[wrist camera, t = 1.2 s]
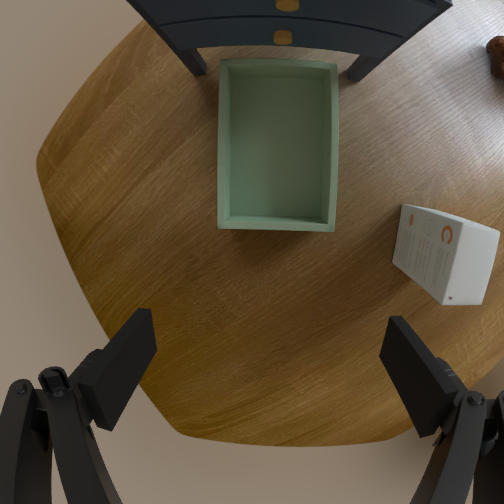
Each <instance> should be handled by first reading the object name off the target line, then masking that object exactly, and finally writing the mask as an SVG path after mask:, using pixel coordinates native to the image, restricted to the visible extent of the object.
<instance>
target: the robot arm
mask: <svg viewBox="0 0 504 504" xmlns="http://www.w3.org/2000/svg"><path fill="white" fill-rule="evenodd" d="M156 351H157V346H156V340H155V334H154V328H153V321H152V314H151V309H144V308H138V309H137V310H136V311H135V312H134V313H133V315H132V316H131V317H130V318H129V319H128V320H127V322H126V323H125V324H124V325H123V326H122V327H121V328H120V330H119V331H118V332H117V333H116V334H115V336H114V337H113V338H112V339H111V340H110V341H109V343H108V344H107V345H106V346H105V347H104V349H103V350H101V349H96V350H94V351H92V352H91V353H89V354H88V355H87V356H86V358H85V359H84V361H82V362H81V363H80V365H79V366H78V367H77V368H76V369H75V370H74V372H73V373H72V374H71V375H70V376H69V377H67V375H66V372H65V371H64V369H62V368H61V367H57V366H56V367H49V368H46V369H44V370H43V371H42V372H41V373H40V374H39V377H38V380H39V382H40V384H41V386H42V388H43V390H42V389H34V387H33V385H32V383H31V382H30V381H29V380H26V379H20V380H17V381H15V382H14V383H12V384H11V386H10V387H9V390H8V393H7V396H6V399H5V402H4V405H3V408H2V412H1V415H0V504H52V496H51V472H52V471H51V469H52V451H53V449H54V454H55V459H56V463H57V467H58V471H59V474H60V478H61V482H62V485H63V489H64V492H65V496H66V498H67V502H68V504H123V503H122V501H121V499H120V497H119V495H118V493H117V491H116V489H115V487H114V485H113V483H112V480H111V478H110V476H109V473H108V471H107V469H106V466H105V464H104V461H103V459H102V456H101V454H100V451H99V448H98V446H97V443H96V440H95V437H94V434H93V431H92V428H91V426H90V423H91V421H92V420H93V419H94V421H95V423H96V425H97V427H99V428H102V429H105V430H108V431H112V430H113V429H114V427H115V425H116V423H117V421H118V419H119V417H120V415H121V414H122V412H123V410H124V408H125V406H126V404H127V402H128V401H129V399H130V397H131V396H132V394H133V392H134V390H135V388H136V386H137V385H138V383H139V381H140V380H141V378H142V376H143V374H144V372H145V371H146V369H147V367H148V365H149V364H150V362H151V360H152V358H153V357H154V355H155V353H156ZM379 357H380V359H381V361H382V363H383V365H384V367H385V368H386V370H387V372H388V374H389V376H390V378H391V380H392V382H393V384H394V386H395V388H396V390H397V391H398V393H399V395H400V397H401V399H402V401H403V403H404V405H405V407H406V409H407V411H408V414H409V416H410V418H411V420H412V422H413V424H414V426H415V428H416V430H417V432H418V434H419V437H420V438H422V437H426V436H429V435H432V434H434V433H435V431H436V430H437V428H438V427H439V426H440V427H441V429H442V432H441V434H440V435H439V437H438V438H437V439H436V441H435V443H434V444H433V446H435V444H436V446H435V448H434V451H433V454H432V456H431V459H430V461H429V464H428V466H427V469H426V471H425V473H424V475H423V477H422V480H421V482H420V484H419V486H418V488H417V490H416V492H415V494H414V496H413V498H412V500H411V502H410V504H465V501H466V499H467V496H468V492H469V489H470V486H471V483H472V478H473V475H474V485H473V500H472V504H504V390H503V391H501V392H500V393H499V395H498V397H497V398H496V399H485V397H484V396H483V395H482V394H481V393H479V392H476V391H468V389H467V388H466V387H465V385H464V384H463V383H462V381H461V380H460V379H459V377H458V376H457V375H455V372H454V371H453V370H452V368H451V367H450V366H449V365H448V363H447V362H446V361H444V360H443V359H441V358H440V357H438V358H435V357H434V355H433V354H432V353H431V352H430V350H429V349H428V348H427V347H426V345H425V344H424V343H423V342H422V340H421V339H420V338H419V337H418V335H417V334H416V333H415V332H414V330H413V329H412V328H411V327H410V326H409V324H408V323H407V322H406V321H405V320H404V318H403V317H402V316H390V317H389V321H388V326H387V329H386V333H385V337H384V341H383V344H382V348H381V352H380V355H379Z"/></svg>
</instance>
